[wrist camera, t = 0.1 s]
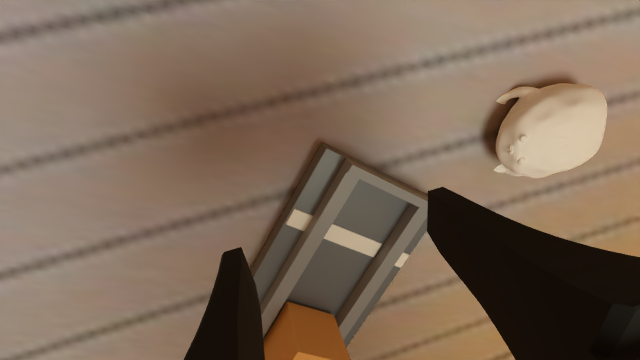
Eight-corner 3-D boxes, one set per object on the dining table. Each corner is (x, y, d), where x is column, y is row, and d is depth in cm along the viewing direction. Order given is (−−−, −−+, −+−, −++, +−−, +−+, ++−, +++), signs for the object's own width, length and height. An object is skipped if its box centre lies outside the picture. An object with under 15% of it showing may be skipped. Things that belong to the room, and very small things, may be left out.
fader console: (323, 363, 31) (330, 388, 29) (211, 338, 27) (210, 365, 25) (434, 198, 27) (452, 213, 25) (322, 142, 23) (331, 154, 21)
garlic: (479, 181, 28) (514, 202, 24) (481, 93, 25) (521, 104, 21) (569, 155, 29) (615, 173, 25) (581, 69, 26) (634, 75, 22)
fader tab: (308, 353, 28) (322, 409, 24) (261, 343, 26) (267, 400, 22) (333, 314, 27) (352, 365, 23) (286, 301, 25) (298, 353, 21)
